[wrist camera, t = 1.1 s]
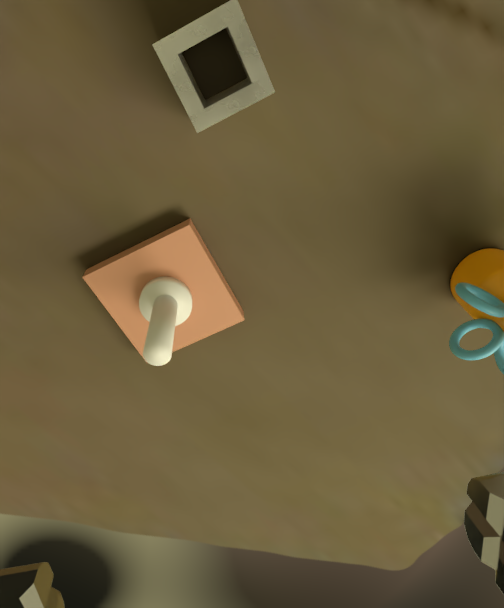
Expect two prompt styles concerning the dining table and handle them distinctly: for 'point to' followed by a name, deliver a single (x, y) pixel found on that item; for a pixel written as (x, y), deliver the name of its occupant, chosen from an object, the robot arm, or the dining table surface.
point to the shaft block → (165, 292)
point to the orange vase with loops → (480, 302)
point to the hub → (184, 81)
